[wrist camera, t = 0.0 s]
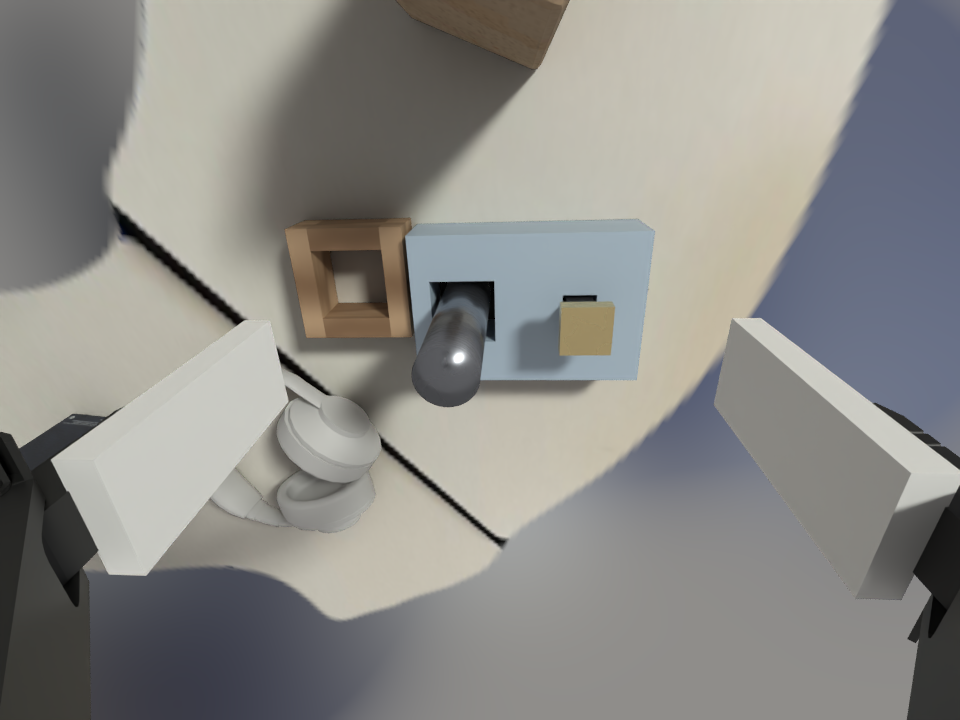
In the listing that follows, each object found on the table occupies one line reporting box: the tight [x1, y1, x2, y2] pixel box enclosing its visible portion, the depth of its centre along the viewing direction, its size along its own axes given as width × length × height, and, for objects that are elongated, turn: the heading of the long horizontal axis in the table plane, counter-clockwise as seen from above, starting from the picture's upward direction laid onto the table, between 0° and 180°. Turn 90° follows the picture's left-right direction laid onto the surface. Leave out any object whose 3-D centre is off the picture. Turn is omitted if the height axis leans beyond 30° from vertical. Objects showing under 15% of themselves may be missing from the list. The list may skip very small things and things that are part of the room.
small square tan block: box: [558, 295, 615, 356], centre depth 36 cm, size 4×4×6 cm
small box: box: [19, 414, 106, 471], centre depth 48 cm, size 11×6×10 cm, turn 176°
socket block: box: [405, 219, 655, 380], centre depth 40 cm, size 12×18×5 cm, turn 92°
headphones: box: [210, 369, 381, 533], centre depth 47 cm, size 18×8×20 cm
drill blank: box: [412, 281, 491, 407], centre depth 35 cm, size 4×4×16 cm
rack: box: [285, 218, 415, 338], centre depth 40 cm, size 9×9×4 cm
